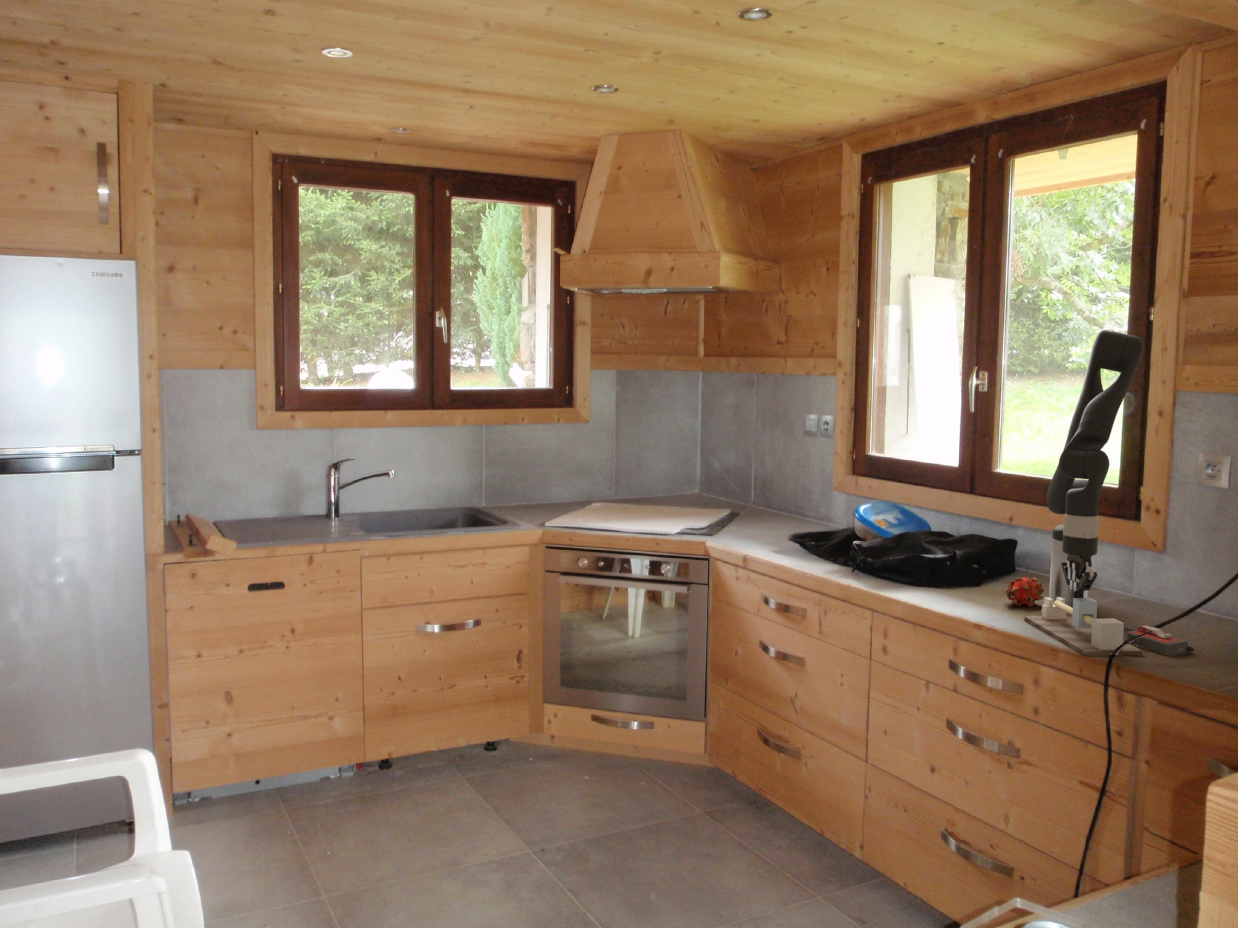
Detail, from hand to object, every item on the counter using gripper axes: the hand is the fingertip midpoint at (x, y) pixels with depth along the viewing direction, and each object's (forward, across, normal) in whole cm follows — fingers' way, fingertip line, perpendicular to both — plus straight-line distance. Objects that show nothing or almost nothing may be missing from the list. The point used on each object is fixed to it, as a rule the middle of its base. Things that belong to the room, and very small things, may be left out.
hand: (1076, 605), depth 234 cm
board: (+7, +2, 0) cm, 7 cm away
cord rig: (+7, +2, 0) cm, 7 cm away
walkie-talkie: (+8, +8, +13) cm, 17 cm away
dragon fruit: (+7, -28, 0) cm, 29 cm away
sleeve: (+4, +4, 0) cm, 5 cm away
